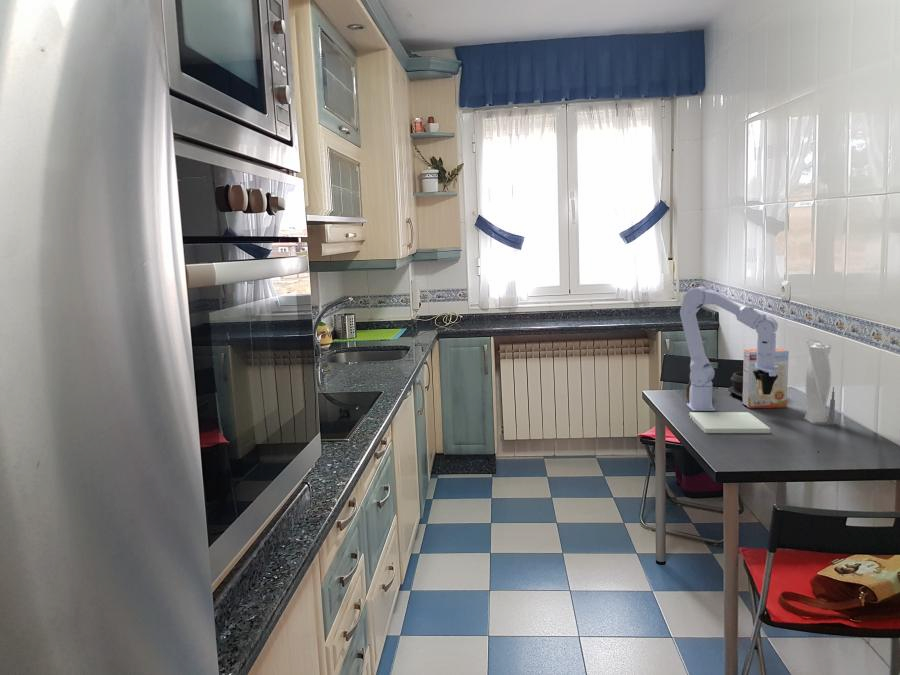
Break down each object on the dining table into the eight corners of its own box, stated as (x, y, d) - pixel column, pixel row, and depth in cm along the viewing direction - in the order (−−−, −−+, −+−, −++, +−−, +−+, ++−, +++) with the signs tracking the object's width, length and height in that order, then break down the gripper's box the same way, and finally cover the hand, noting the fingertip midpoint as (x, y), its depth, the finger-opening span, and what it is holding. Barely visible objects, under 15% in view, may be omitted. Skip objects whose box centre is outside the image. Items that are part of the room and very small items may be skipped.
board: (689, 416, 241) (689, 412, 241) (748, 416, 239) (748, 412, 239) (705, 433, 221) (705, 428, 221) (770, 433, 220) (770, 428, 219)
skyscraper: (809, 425, 228) (814, 341, 224) (798, 419, 236) (802, 337, 232) (835, 425, 228) (840, 340, 223) (823, 418, 236) (827, 337, 231)
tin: (699, 395, 272) (700, 374, 270) (707, 396, 270) (708, 375, 268) (685, 403, 260) (685, 381, 259) (693, 404, 258) (694, 382, 257)
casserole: (725, 387, 284) (726, 367, 282) (775, 389, 278) (776, 369, 276) (729, 401, 260) (730, 380, 259) (784, 404, 254) (785, 382, 253)
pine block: (756, 396, 240) (756, 379, 239) (768, 396, 240) (768, 379, 239) (760, 399, 236) (761, 381, 235) (772, 399, 236) (773, 381, 235)
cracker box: (779, 404, 255) (782, 347, 252) (787, 408, 249) (789, 350, 246) (741, 404, 255) (743, 348, 252) (747, 408, 249) (750, 351, 246)
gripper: (786, 357, 228) (784, 397, 230) (770, 349, 242) (768, 387, 244) (764, 357, 229) (762, 397, 231) (749, 350, 243) (747, 388, 245)
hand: (764, 392), depth 238 cm, fingers closed on pine block, 4 cm apart
